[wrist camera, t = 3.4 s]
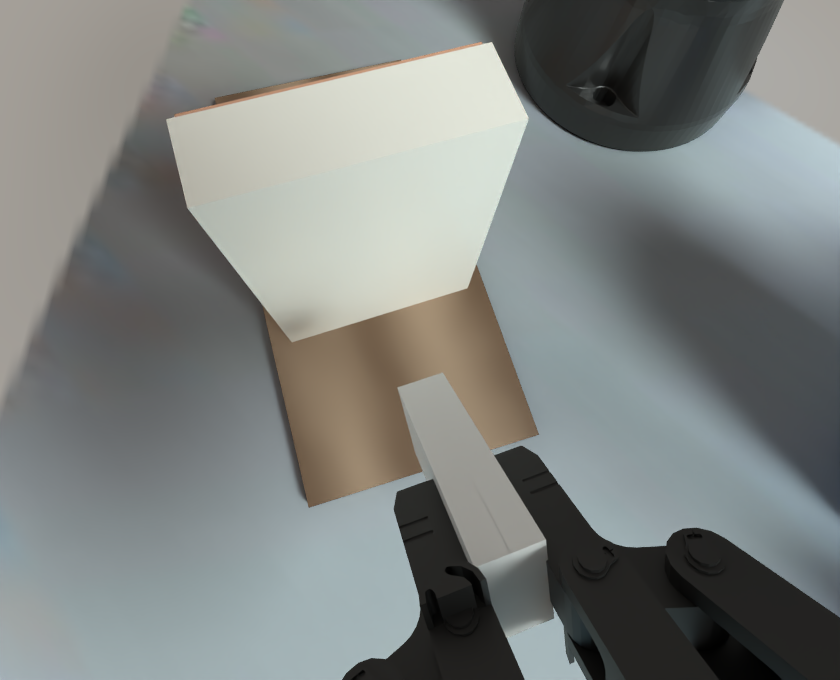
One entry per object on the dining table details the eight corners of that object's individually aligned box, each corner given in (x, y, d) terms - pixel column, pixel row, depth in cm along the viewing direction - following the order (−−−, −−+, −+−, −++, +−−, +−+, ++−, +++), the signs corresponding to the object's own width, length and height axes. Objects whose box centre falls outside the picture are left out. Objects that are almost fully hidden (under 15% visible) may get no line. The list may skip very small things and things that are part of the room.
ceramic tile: (467, 288, 27) (529, 118, 14) (291, 342, 25) (187, 208, 13) (447, 237, 27) (488, 34, 15) (276, 287, 26) (164, 111, 14)
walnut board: (401, 69, 32) (401, 59, 31) (534, 435, 25) (538, 434, 24) (219, 107, 30) (214, 98, 29) (311, 506, 24) (308, 507, 23)
